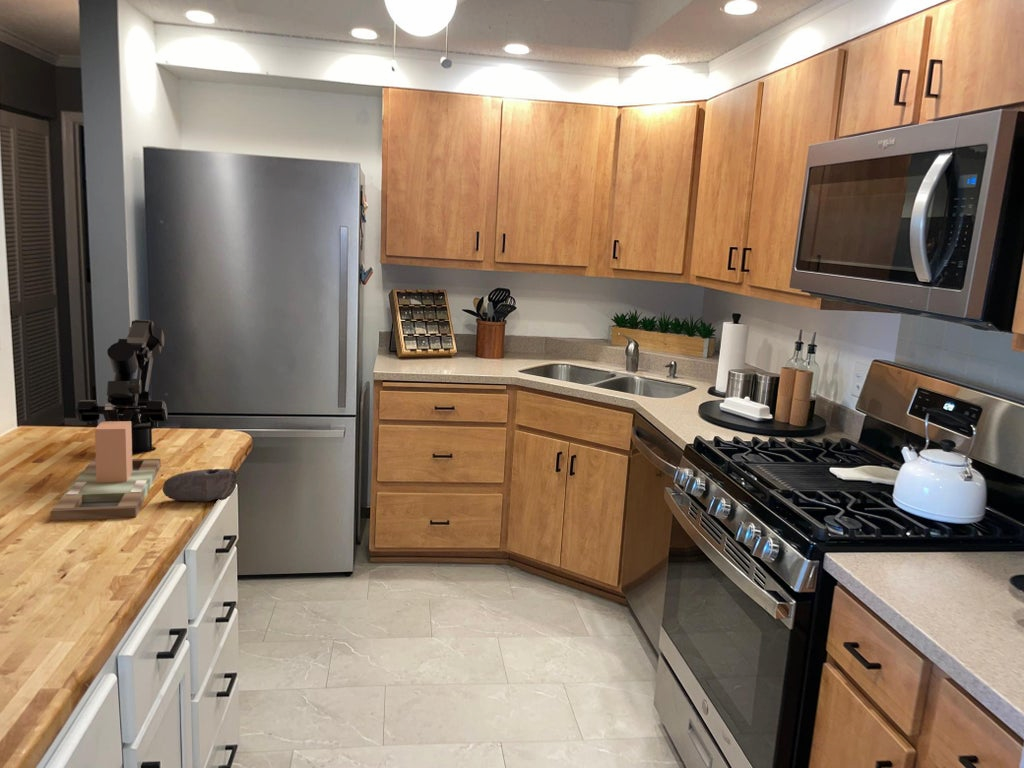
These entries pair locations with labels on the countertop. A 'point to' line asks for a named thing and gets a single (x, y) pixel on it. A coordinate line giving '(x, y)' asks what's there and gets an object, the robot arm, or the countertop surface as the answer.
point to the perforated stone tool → (201, 485)
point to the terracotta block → (113, 451)
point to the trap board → (106, 494)
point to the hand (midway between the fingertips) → (118, 442)
